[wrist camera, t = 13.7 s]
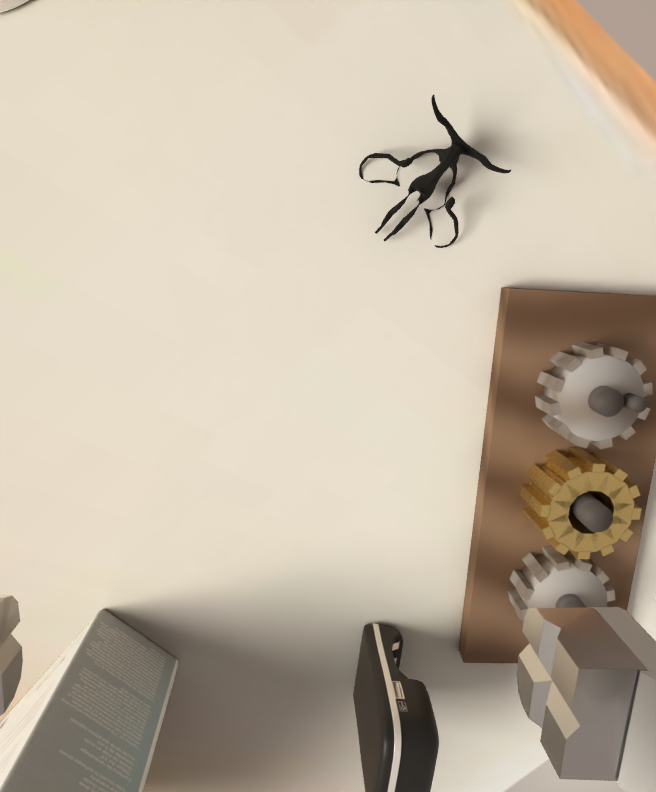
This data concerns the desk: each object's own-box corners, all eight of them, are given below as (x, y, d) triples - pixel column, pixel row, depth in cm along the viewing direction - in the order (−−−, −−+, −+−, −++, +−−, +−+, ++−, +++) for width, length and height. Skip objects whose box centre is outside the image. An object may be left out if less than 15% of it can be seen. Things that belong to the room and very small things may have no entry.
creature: (422, 272, 40) (509, 177, 37) (427, 288, 35) (527, 181, 32) (336, 194, 39) (419, 90, 36) (328, 200, 34) (424, 80, 31)
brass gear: (527, 445, 40) (548, 461, 37) (620, 448, 41) (649, 466, 37) (515, 533, 42) (534, 557, 39) (604, 536, 42) (631, 560, 39)
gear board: (501, 287, 39) (537, 292, 34) (671, 296, 40) (735, 302, 34) (458, 649, 46) (482, 706, 40) (606, 651, 46) (650, 708, 40)
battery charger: (399, 699, 46) (431, 837, 35) (351, 696, 46) (369, 834, 35) (412, 621, 45) (450, 740, 34) (363, 618, 45) (385, 736, 33)
